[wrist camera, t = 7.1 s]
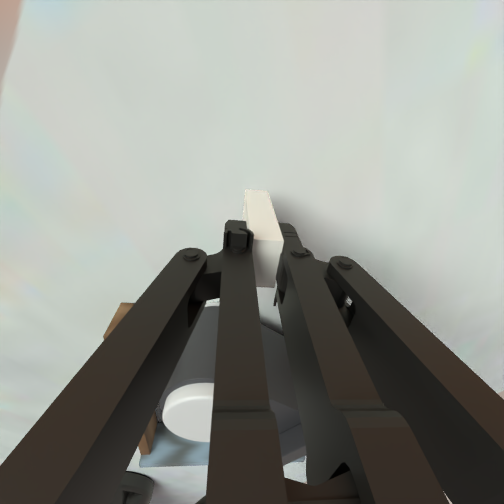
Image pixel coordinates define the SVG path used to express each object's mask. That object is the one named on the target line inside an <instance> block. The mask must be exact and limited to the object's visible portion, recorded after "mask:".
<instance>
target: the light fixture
mask: <svg viewBox="0 0 504 504" xmlns="http://www.w3.org/2000/svg"><path fill="white" fill-rule="evenodd" d="M218 317H219V302H211V303H206V305H205V307H204V309H203V311H202V313H201V315H200V317H199V320H198V322H197V324H196V326H195V328H194V330H193V332H192V334H191V336H190V338H189V340H188V342H187V345H186V347H185V349H184V351H183V353H182V355H181V357H180V359H179V361H178V363H177V365H176V367H175V370H174V372H173V374H172V376H171V378H170V380H169V382H168V384H167V386H166V388H165V390H164V392H163V395H162V397H161V399H160V401H159V407H160V409H161V411H162V412H163V414H162V419H163V422H164V424H165V426H166V427H167V428H168V429H169V430H170V431H171V432H173V433H174V434H176V435H178V436H180V437H182V438H185V439H188V440H193V441H199V442H210V432H211V418H212V406H213V391H214V377H215V362H216V347H217V332H218ZM260 325H261V333H262V342H263V351H264V360H265V369H266V378H267V386H268V395H269V403H270V407H271V410H272V411H273V412H274V413H275V416H276V420H277V426H278V433H279V441H280V448H281V456H282V464H283V466H284V465H286V464H288V463H290V462H292V461H295V460H297V459H299V458H301V457H303V456H306V455H307V454H306V446H305V440H304V435H303V430H302V425H301V420H300V415H299V410H298V405H297V400H296V395H295V390H294V384H293V379H292V374H291V369H290V364H289V359H288V354H287V349H286V344H285V339H284V336H282V335H280V334H279V333H277V332H275V331H273V330H271V329H269V328H268V327H266V326H264V325H262V324H260Z"/></svg>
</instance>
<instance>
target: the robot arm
mask: <svg viewBox="0 0 504 504" xmlns="http://www.w3.org/2000/svg"><path fill="white" fill-rule="evenodd" d="M276 281H277V290H276V294H275V299H274V305H273V306H276V302H277V303H278V308H279V313H280V318H281V323H282V328H283V334H284V339H285V344H286V349H287V354H288V359H289V364H290V369H291V374H292V379H293V384H294V390H295V395H296V400H297V405H298V410H299V415H300V420H301V425H302V430H303V435H304V440H305V446H306V454H307V459H306V478H307V484H304V483H301V482H298V481H294V480H291V479H288V478H285V477H284V471H283V464H282V456H281V448H280V441H279V433H278V426H277V420H276V416H275V413H274V412H273V411H272V410H271V407H270V403H269V395H268V386H267V378H266V369H265V360H264V351H263V342H262V333H261V325H260V316H259V307H258V298H257V289H256V287H270V288H274V287H275V282H276ZM348 296H349V298H350V299H351V300H352V304H351V305H349V304H348V303H347V302H346V300H347V298H348ZM216 298H220V302H219V317H218V332H217V347H216V362H215V377H214V391H213V406H212V418H211V432H210V446H209V461H208V476H207V490H206V496H204V497H203V498H202V499H201V500H199V501H198V502H197V503H196V504H449V502H448V500H447V498H446V496H445V494H446V495H447V497H448V498H449V499H450V501H451V502H452V504H504V400H503V399H502V398H501V397H500V396H499V395H498V394H497V393H496V392H495V391H494V390H493V389H492V388H490V387H489V386H488V385H487V384H486V383H485V382H484V381H483V380H482V379H481V378H480V377H479V376H478V375H477V374H475V373H474V372H473V371H472V370H471V369H470V368H469V367H468V366H467V365H466V364H465V363H464V362H463V361H461V360H460V359H459V358H458V357H457V356H456V355H455V354H454V353H453V352H452V351H451V350H450V349H449V348H448V347H446V346H445V345H444V344H443V343H442V342H441V341H440V340H439V339H438V338H437V337H436V336H435V335H434V334H433V333H431V332H430V331H429V330H428V329H427V328H426V327H425V326H424V325H423V324H422V323H421V322H420V321H419V320H418V319H416V318H415V317H414V316H413V315H412V314H411V313H410V312H409V311H408V310H407V309H406V308H405V307H404V306H403V305H401V304H400V303H399V302H398V301H397V300H396V299H395V298H394V297H393V296H392V295H391V294H390V293H389V292H388V291H386V290H385V289H384V288H383V287H382V286H381V285H380V284H379V283H378V282H377V281H376V280H375V279H374V278H372V277H371V276H370V275H369V274H368V273H367V272H366V271H365V270H364V269H363V268H362V267H361V266H360V265H359V264H357V263H356V262H355V261H353V260H352V259H350V258H348V257H344V256H334V257H332V258H331V259H330V262H329V263H327V262H323V261H319V260H316V259H315V258H314V256H313V254H312V253H311V251H309V250H308V249H306V248H304V247H303V246H302V244H301V242H300V239H299V237H298V235H297V232H296V230H295V228H294V227H293V226H292V225H290V224H287V223H278V221H277V218H276V215H275V212H274V209H273V206H272V203H271V200H270V197H269V193H268V191H262V190H250V189H245V197H244V208H243V218H242V221H237V220H228V221H227V222H226V223H225V232H224V242H223V249H222V250H221V251H220V252H219V253H217V254H214V255H208V256H207V254H206V252H204V251H203V250H201V249H198V248H185V249H182V250H180V251H179V252H177V253H176V254H175V256H174V257H173V258H172V259H171V260H170V262H169V263H168V264H167V265H166V266H165V268H164V269H163V270H162V271H161V272H160V274H159V275H158V276H157V277H156V278H155V280H154V281H153V282H152V283H151V285H150V286H149V287H148V288H147V289H146V291H145V292H144V293H143V294H142V295H141V297H140V298H139V299H138V300H137V301H136V303H135V304H134V305H133V306H132V307H131V309H130V310H129V311H128V312H127V313H126V315H125V316H124V317H123V318H122V320H121V321H120V322H119V323H118V324H117V326H116V327H115V328H114V329H113V330H112V332H111V333H110V334H109V335H108V336H107V338H106V339H105V340H104V341H103V342H102V344H101V345H100V346H99V347H98V349H97V350H96V351H95V352H94V353H93V355H92V356H91V357H90V358H89V359H88V361H87V362H86V363H85V364H84V365H83V367H82V368H81V369H80V370H79V371H78V373H77V374H76V375H75V376H74V377H73V379H72V380H71V381H70V382H69V384H68V385H67V386H66V387H65V388H64V390H63V391H62V392H61V393H60V394H59V396H58V397H57V398H56V399H55V400H54V402H53V403H52V404H51V405H50V406H49V408H48V409H47V410H46V411H45V412H44V414H43V415H42V416H41V417H40V419H39V420H38V421H37V422H36V423H35V425H34V426H33V427H32V428H31V429H30V431H29V432H28V433H27V434H26V435H25V437H24V438H23V439H22V440H21V441H20V443H19V444H18V445H17V446H16V447H15V449H14V450H13V451H12V452H11V454H10V455H9V456H8V457H7V458H6V460H5V461H4V462H3V463H2V464H1V466H0V504H149V503H150V500H151V497H152V492H153V487H154V483H153V481H152V480H151V479H149V478H147V477H145V476H142V475H139V474H135V473H129V472H126V470H127V467H128V465H129V463H130V461H131V459H132V457H133V455H134V453H135V451H136V449H137V447H138V445H139V442H140V440H141V438H142V436H143V434H144V432H145V430H146V428H147V426H148V424H149V422H150V420H151V417H152V415H153V413H154V411H155V409H156V407H157V405H158V403H159V401H160V399H161V397H162V395H163V392H164V390H165V388H166V386H167V384H168V382H169V380H170V378H171V376H172V374H173V372H174V370H175V367H176V365H177V363H178V361H179V359H180V357H181V355H182V353H183V351H184V349H185V347H186V345H187V342H188V340H189V338H190V336H191V334H192V332H193V330H194V328H195V326H196V324H197V322H198V320H199V317H200V315H201V313H202V311H203V309H204V307H205V305H206V300H211V299H216ZM443 491H444V492H443ZM444 493H445V494H444Z"/></svg>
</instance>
